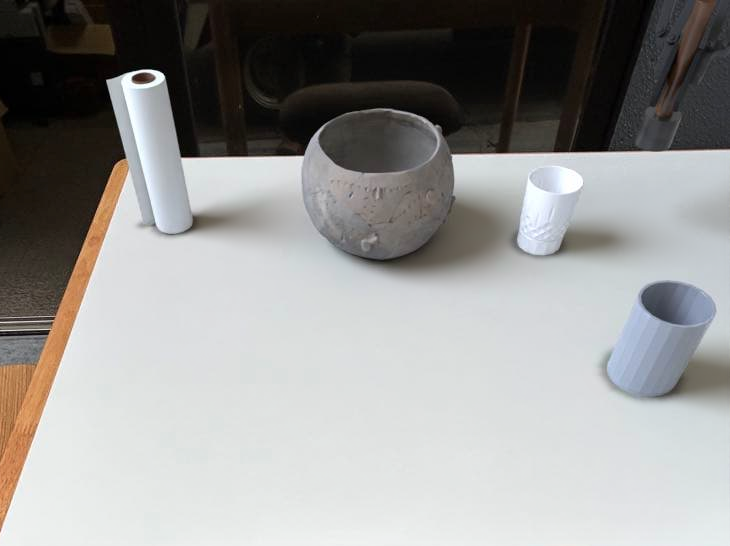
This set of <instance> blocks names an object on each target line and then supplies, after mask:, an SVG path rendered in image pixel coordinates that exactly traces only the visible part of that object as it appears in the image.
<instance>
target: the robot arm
mask: <svg viewBox="0 0 730 546" xmlns="http://www.w3.org/2000/svg"><path fill="white" fill-rule="evenodd" d="M676 2H677V0H664V2H663V6H662V9H661V13H660V15H659V19H658V22H657V25H656V28H655V32H654V33H655V34H654V38H653V44H654V45H656V46H660V47H661V48H662V50H661V53H660V55H659V57H658V59H657V62H656V64H655V67H654V73H653V76H654V77H658V80H657V82H656V85H655V86H654V89H653V91H652V94H651V96H650V101H649V106H648V107H655V106H656V105H658V102H659V100H660V97H661V94H662V92H663V89H664V86H665V84H666V81H667V78H668V76H669V73H670V70H671V68H672V65H673V62H674V60H675V57H676V54H677V51H678V49H679V46H680V43H679V42H680V41H681V39H682V38H683V35H684V32H685V29H686V27H687V24H688V21H689V19H690V16H691V13H692V10H693V8H694V5H695V2H696V0H687V1H686V3H685V5H684V6H683V8H682V10H681V12H680V14H679V15H678V17H677V19H676V21H675V23H674V25H673V27H672V28H671V30H668V28H669V24H670V21H671V18H672V14H673V13H674V9H675V6H676ZM729 7H730V0H719V3H718V7H717V9H716V13H715V15H714V19H713V21H712V25H711V27H710V32H709V34H708V37H707V40H706V43H705V46H704V48H701V47H699V48H698V50H697V52H696V54H695V56H694V59H693V61H692V63H691V65H690V68H689V70H688V72H687V75H686V77H685V79H684V81H683V84H682V86H681V88H680V90H679V93H678V95H677V97H676V99H675V102H674V105H673V109H672V111H673V112H678V110H679V111H680V108H681V105H682V103H683V101H684V99H685V97H686V95H687V92H688V90H689V88H690V86H691V85H692V84H693V85H696V86H698V85H699V84H700V83H701V82H702V79H703V77H704V75H705V73H706V71H707V69H708V67H709V66H708V65H709V64H710V62H711V60H712V59H714V58H716V57H720V58H726V57H727V56H728V55H729V54H730V29H729V30H728V31H727V33H726V35H725V36H724V38H723V39H719V37H720V35H721V31H722V28H723V25H724V22H725V19H726V17H727V13H728V11H729V10H728V9H729Z"/></svg>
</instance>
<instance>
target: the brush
mask: <svg viewBox="0 0 730 546" xmlns="http://www.w3.org/2000/svg"><path fill="white" fill-rule="evenodd" d="M717 3H718V0H696V2H695V5H694V8H693V10H692V13H691V16H690V19H689V21H688V24H687V27H686V29H685V31H684V33H683V35H682V37H681V39H680V43H679V44H680V46H679V49H678V51H677V54H676V57H675V60H674V62H673V65H672V68H671V70H670V73H669V76H668V78H667V81H666V83H665V85H664V88H663V90H662V92H661V94H660V97H659V99H658V102H657V104H656V106H655V107H650V106H648V107H647V108H646V109H645V111H644V113H643V117H642V118H641V122H640V125H639V128H638V130H637V133H636V136H635V139H634V143H635V145H636V146H637V147H638V148H639V149H642V150H644V151H646V152H647V151H648V152H654V153H655V152H656V153H657V152H658V153H659V152H664V151H667V150H668V149H670V148H671V145H672V143H673V140H674V138H675V135H676V133H677V130H678V128H679V126H680V123H681V120H682V119H683V114H682V111H680V109H679V110H678V112H673V111H672V109H673V105H674V102H675V99H676V97H677V95H678V93H679V90H680V88H681V86H682V84H683V81H684V79H685V77H686V75H687V72H688V70H689V68H690V65H691V63H692V61H693V59H694V56H695V54H696V52H697V50H698V48H700V46H701V44H702V42H703V38H704V35H705V33H706V31H707V28H708V25H709V23H710V20H711V17H712V15H713V12H714V10H715V8H716V5H717Z"/></svg>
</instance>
